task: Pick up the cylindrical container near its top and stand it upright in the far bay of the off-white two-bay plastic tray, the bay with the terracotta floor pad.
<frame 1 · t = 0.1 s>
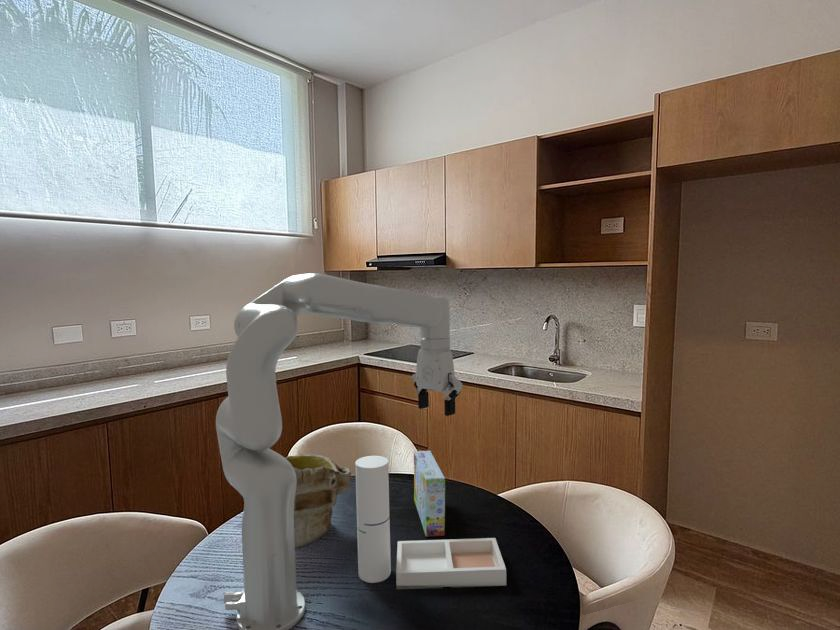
hand: (436, 411, 115), 31 cm above the table, tool pointing down, fingers open, 9 cm apart
ceramic vessel: (307, 532, 117), on the table
cylindrical container: (374, 573, 99), on the table
two-bay tray: (449, 569, 100), on the table
snack box: (428, 517, 124), on the table
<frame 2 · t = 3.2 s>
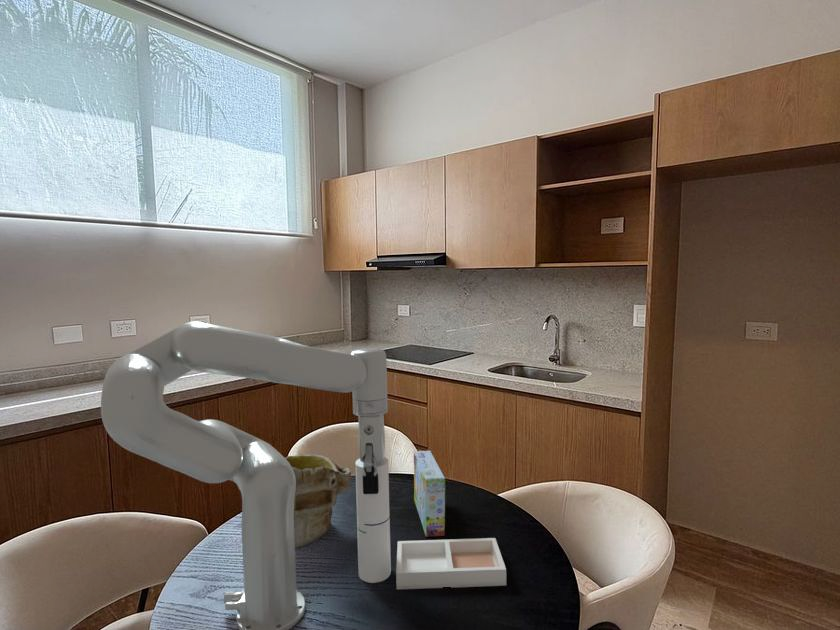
hand: (372, 484, 98), 20 cm above the table, tool pointing down, fingers closed on cylindrical container, 7 cm apart
cylindrical container: (374, 573, 99), on the table, touching gripper
everything else where it was.
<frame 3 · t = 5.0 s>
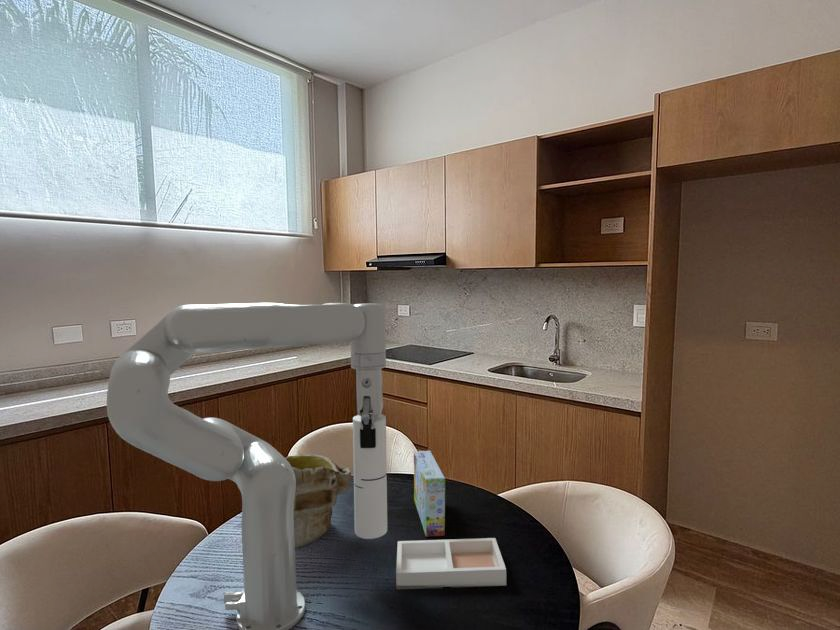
hand: (369, 440, 98), 30 cm above the table, tool pointing down, fingers closed on cylindrical container, 7 cm apart
cylindrical container: (371, 530, 99), point 10 cm above the table, touching gripper
everything else where it was.
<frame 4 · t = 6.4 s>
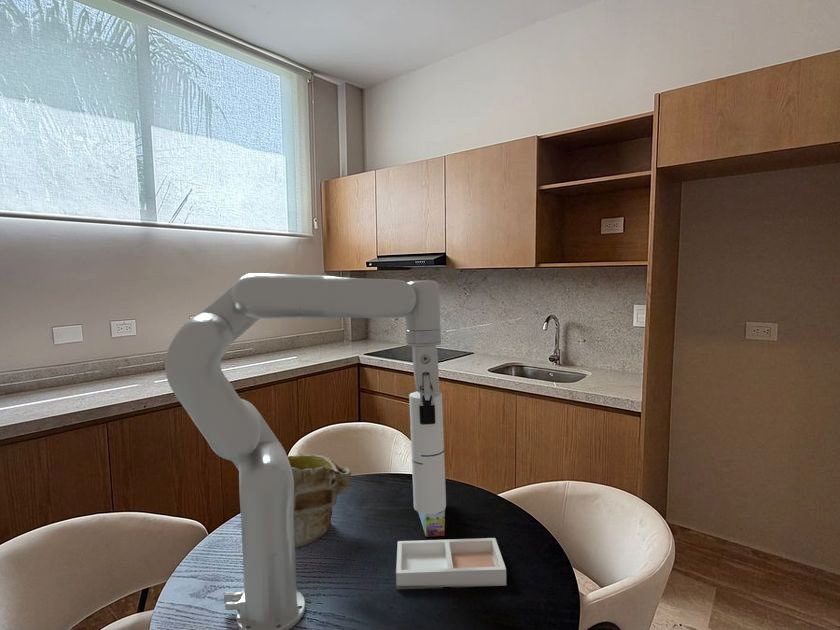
hand: (426, 417, 98), 34 cm above the table, tool pointing down, fingers closed on cylindrical container, 7 cm apart
cylindrical container: (429, 506, 99), point 14 cm above the table, touching gripper
everything else where it was.
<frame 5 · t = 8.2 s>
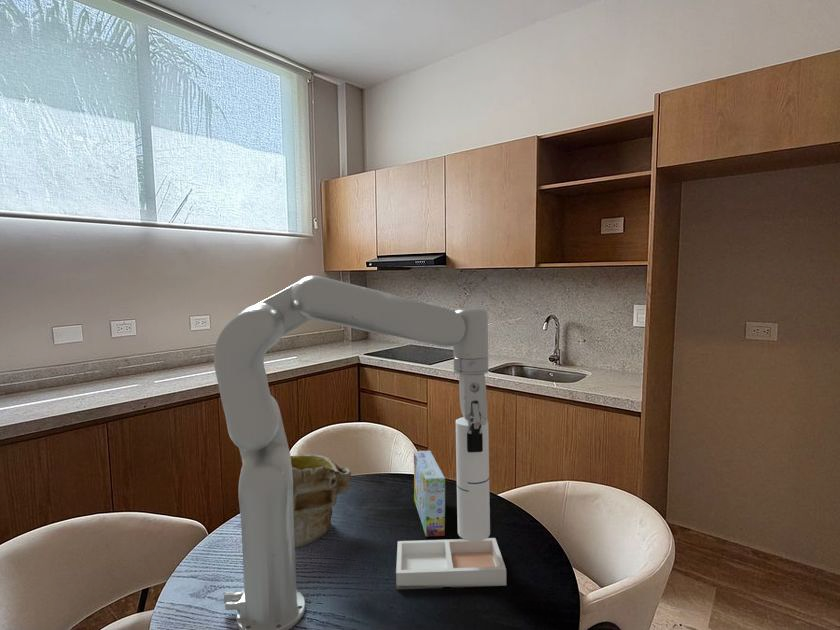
hand: (472, 444, 98), 28 cm above the table, tool pointing down, fingers closed on cylindrical container, 7 cm apart
cylindrical container: (473, 533, 100), point 8 cm above the table, touching gripper
everything else where it was.
when the fingers open (22 cm above the table, at t = 9.8 s): cylindrical container drops 1 cm, resting on two-bay tray.
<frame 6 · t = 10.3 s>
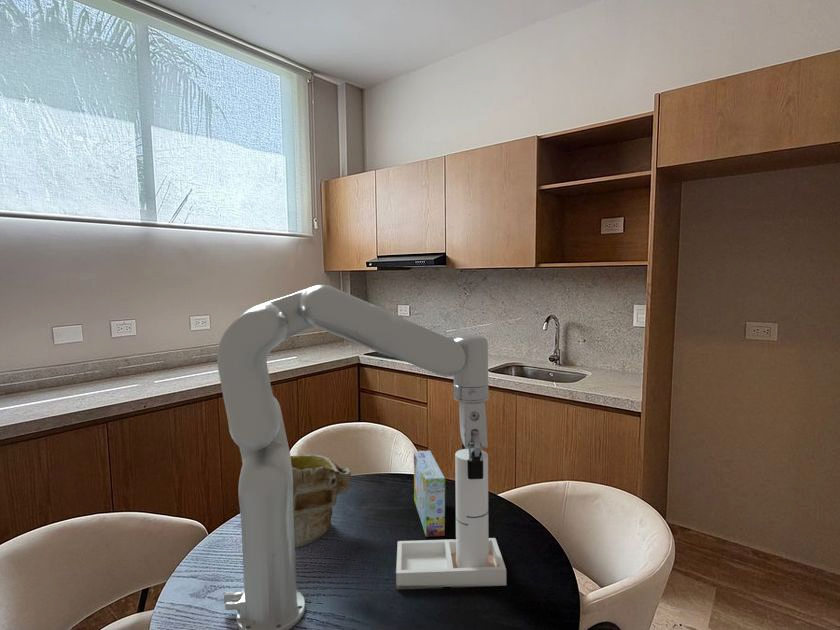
hand: (472, 469, 99), 23 cm above the table, tool pointing down, fingers open, 9 cm apart
cylindrical container: (472, 565, 100), point 1 cm above the table, touching two-bay tray
everything else where it was.
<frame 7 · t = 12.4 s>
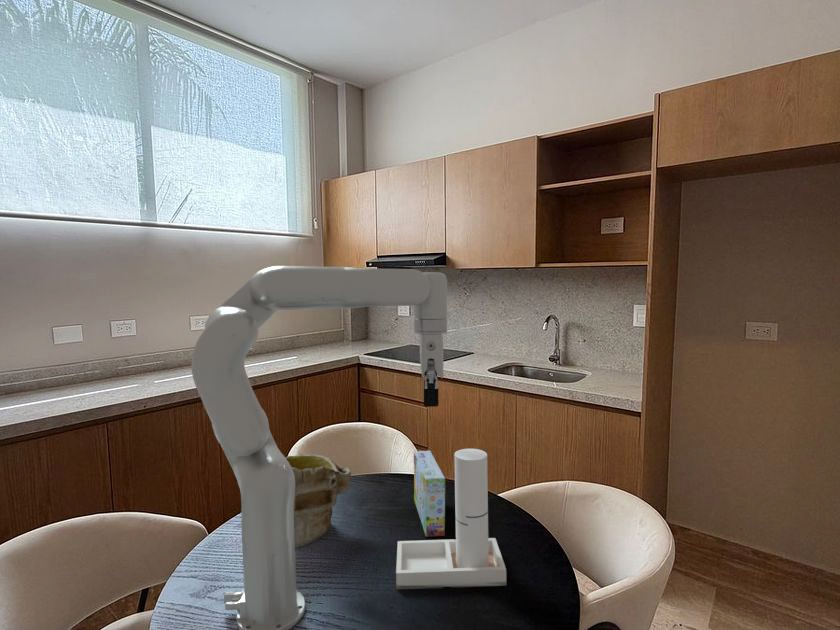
hand: (430, 401, 103), 37 cm above the table, tool pointing down, fingers open, 9 cm apart
nothing on the table moved.
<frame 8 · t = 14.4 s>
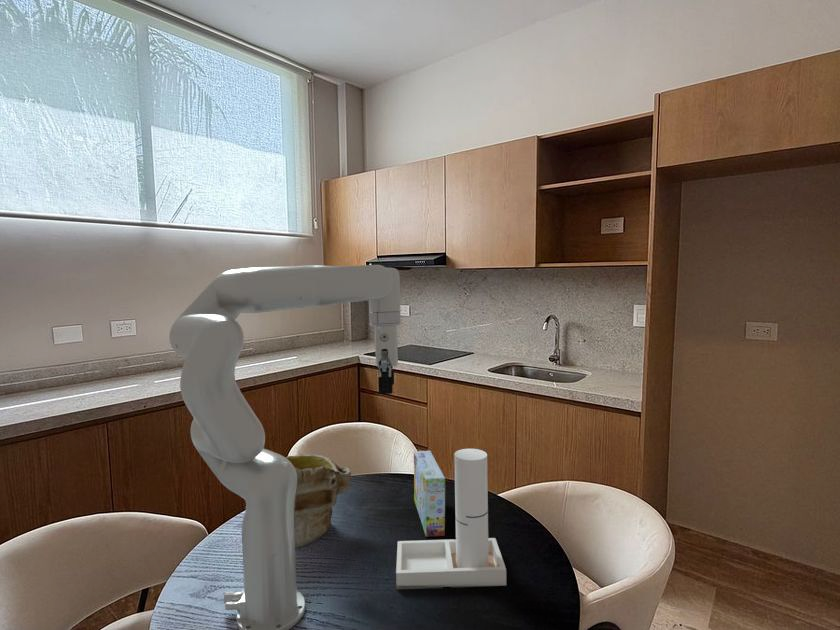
hand: (386, 389, 109), 38 cm above the table, tool pointing down, fingers open, 9 cm apart
nothing on the table moved.
at the end: cylindrical container 0.3 cm from the target spot on the two-bay tray, point 0.8 cm above the two-bay tray's base; cylindrical container tilted 0°; the gripper is holding nothing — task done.
